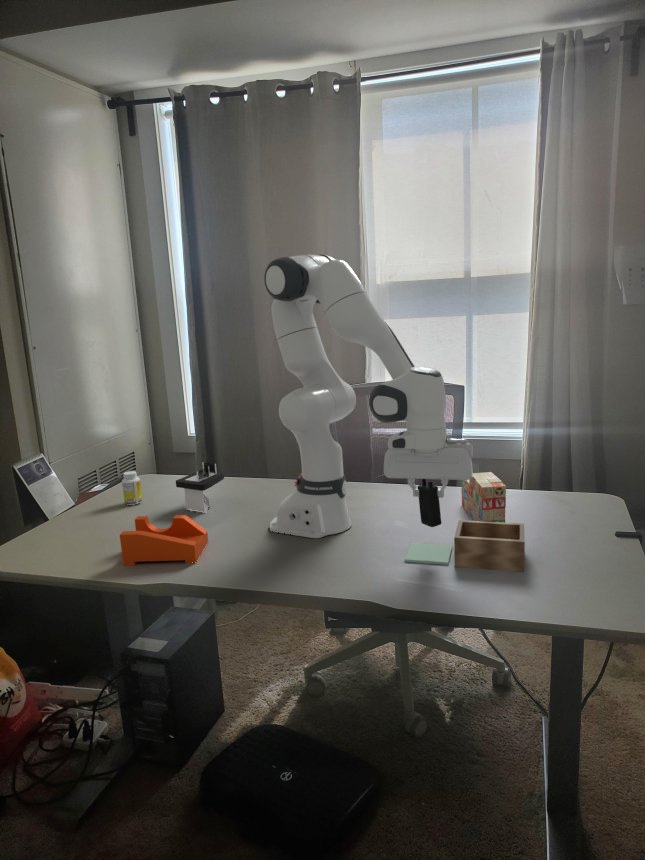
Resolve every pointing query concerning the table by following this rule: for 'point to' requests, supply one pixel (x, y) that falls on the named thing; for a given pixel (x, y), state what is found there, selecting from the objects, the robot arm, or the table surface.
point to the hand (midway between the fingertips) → (428, 496)
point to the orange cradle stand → (163, 541)
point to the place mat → (429, 553)
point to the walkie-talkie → (429, 504)
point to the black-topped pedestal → (199, 486)
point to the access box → (489, 545)
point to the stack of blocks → (484, 497)
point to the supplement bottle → (131, 488)
